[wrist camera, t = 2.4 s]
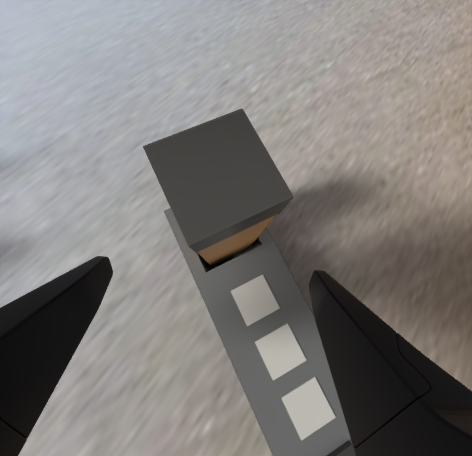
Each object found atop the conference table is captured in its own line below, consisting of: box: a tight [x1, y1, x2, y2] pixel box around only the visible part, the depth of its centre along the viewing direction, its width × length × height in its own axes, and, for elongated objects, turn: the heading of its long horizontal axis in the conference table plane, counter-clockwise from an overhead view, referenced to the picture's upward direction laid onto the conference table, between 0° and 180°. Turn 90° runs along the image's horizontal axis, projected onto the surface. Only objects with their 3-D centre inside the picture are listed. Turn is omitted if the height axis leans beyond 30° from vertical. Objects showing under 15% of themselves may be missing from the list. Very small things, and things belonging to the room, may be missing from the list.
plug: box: [143, 109, 293, 266], centre depth 14 cm, size 4×4×13 cm
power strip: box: [164, 208, 356, 456], centre depth 17 cm, size 24×7×3 cm, turn 26°
